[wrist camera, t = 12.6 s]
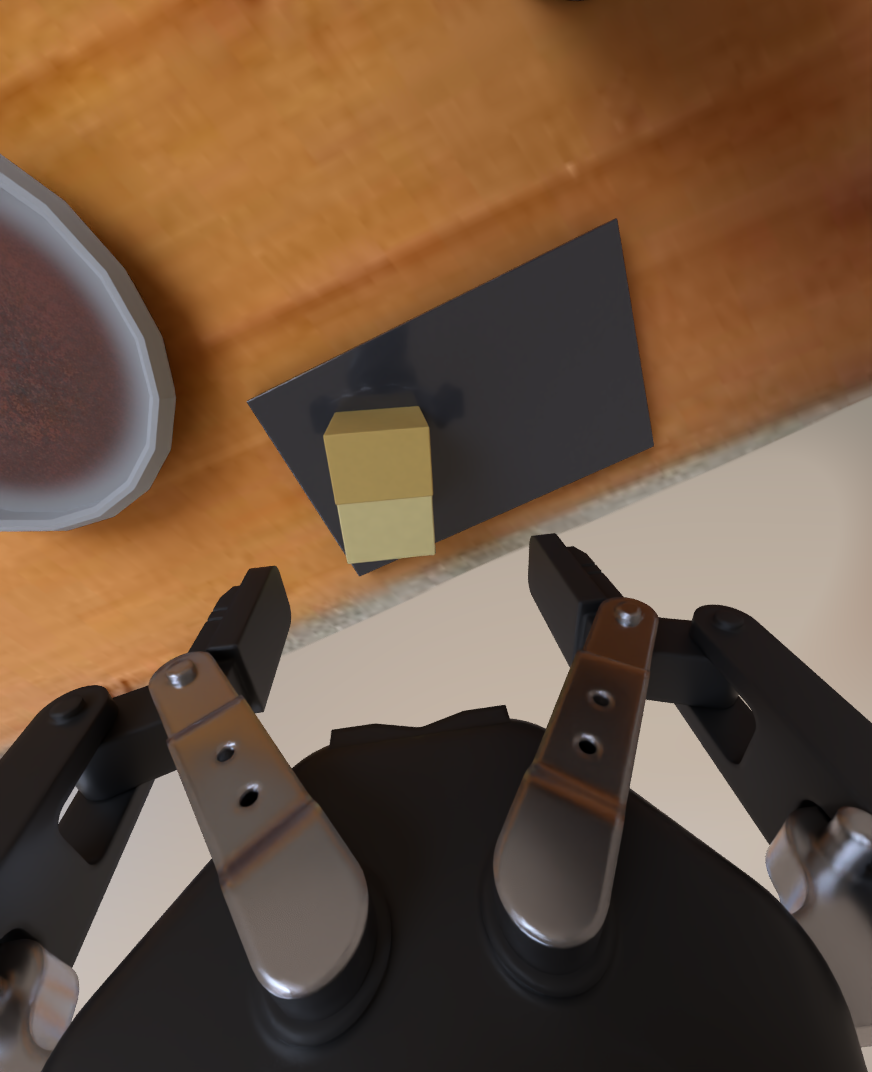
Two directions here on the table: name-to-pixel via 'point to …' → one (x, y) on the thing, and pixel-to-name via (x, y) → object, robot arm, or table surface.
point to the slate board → (489, 387)
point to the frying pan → (72, 369)
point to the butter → (382, 482)
